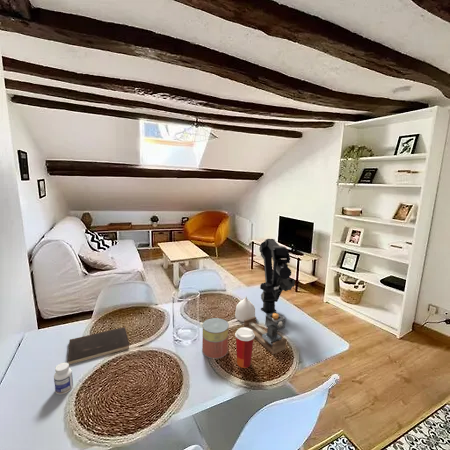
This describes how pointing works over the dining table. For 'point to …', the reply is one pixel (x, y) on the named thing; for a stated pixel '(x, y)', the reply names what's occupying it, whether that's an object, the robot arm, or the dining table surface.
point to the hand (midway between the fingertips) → (276, 300)
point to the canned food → (215, 338)
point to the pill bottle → (63, 378)
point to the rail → (258, 334)
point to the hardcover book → (97, 345)
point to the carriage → (271, 335)
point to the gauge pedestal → (275, 321)
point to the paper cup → (244, 346)
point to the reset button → (275, 316)
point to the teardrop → (244, 310)
